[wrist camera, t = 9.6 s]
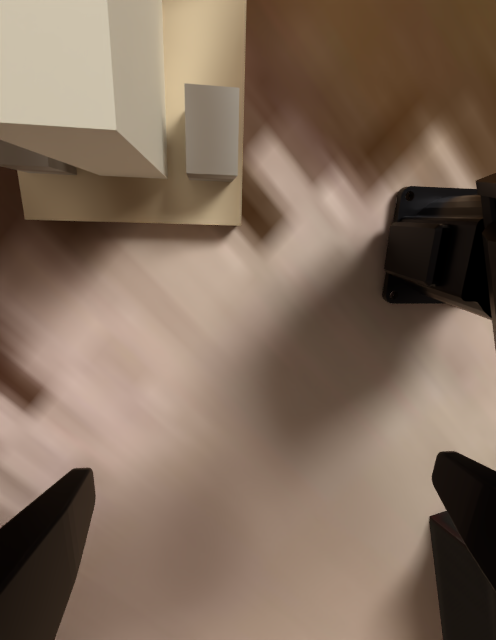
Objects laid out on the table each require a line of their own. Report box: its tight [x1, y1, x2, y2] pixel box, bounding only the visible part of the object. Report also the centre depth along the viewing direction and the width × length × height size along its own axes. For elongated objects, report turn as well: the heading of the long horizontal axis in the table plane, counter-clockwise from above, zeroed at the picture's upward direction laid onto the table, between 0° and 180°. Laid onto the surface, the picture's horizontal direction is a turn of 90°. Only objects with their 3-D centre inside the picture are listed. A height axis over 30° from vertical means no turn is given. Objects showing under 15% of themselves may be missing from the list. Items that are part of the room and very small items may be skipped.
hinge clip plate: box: [0, 0, 246, 226], centre depth 13 cm, size 10×16×4 cm, turn 178°
